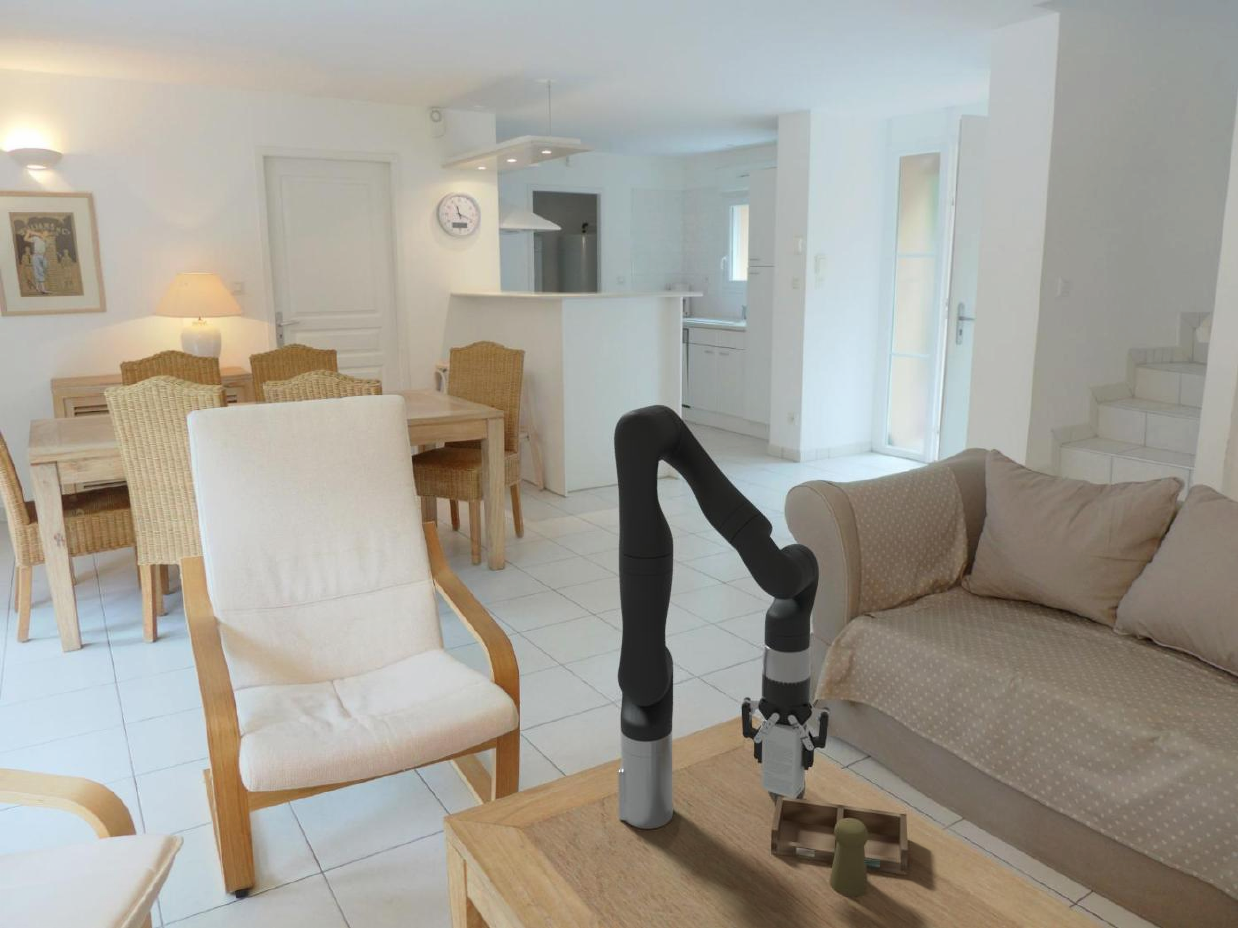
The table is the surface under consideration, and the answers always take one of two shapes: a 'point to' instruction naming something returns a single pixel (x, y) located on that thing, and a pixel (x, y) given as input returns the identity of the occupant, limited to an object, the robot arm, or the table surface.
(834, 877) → the cork
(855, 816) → the slot rack
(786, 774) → the skincare box
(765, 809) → the table surface
